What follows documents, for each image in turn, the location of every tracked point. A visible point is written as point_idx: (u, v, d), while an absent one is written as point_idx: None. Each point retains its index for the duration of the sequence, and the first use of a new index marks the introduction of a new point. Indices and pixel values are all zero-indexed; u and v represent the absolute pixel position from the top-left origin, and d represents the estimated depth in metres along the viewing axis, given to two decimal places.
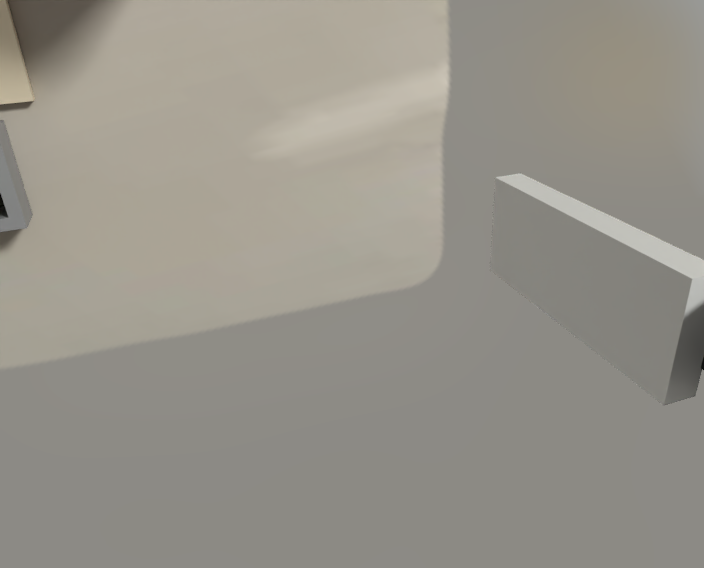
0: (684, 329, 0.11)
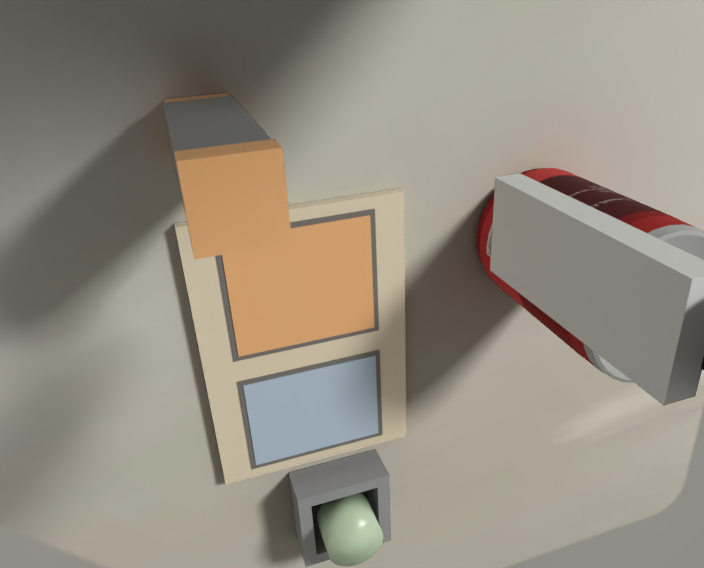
0: (684, 329, 0.11)
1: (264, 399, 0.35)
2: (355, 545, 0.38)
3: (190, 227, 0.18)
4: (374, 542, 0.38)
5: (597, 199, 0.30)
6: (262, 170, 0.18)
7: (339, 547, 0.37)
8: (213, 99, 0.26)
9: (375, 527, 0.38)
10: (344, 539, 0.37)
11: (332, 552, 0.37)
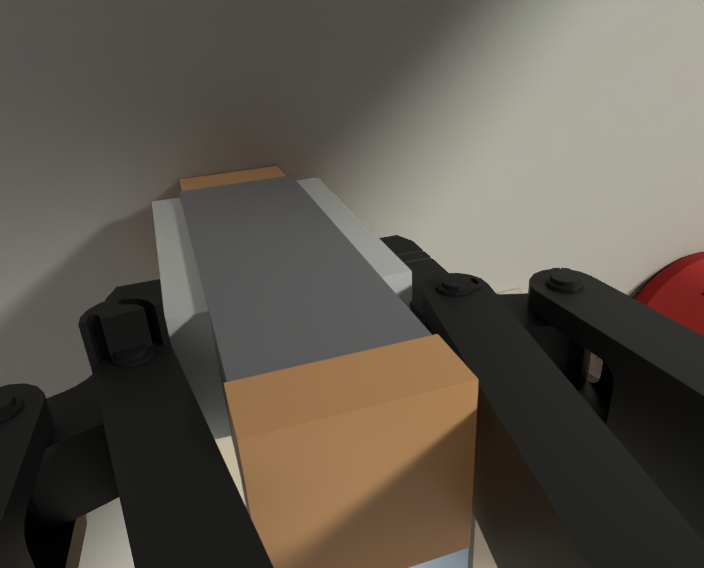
0: None
1: None
2: None
3: None
4: None
5: None
6: (430, 429, 0.08)
7: None
8: (263, 184, 0.16)
9: None
10: None
11: None
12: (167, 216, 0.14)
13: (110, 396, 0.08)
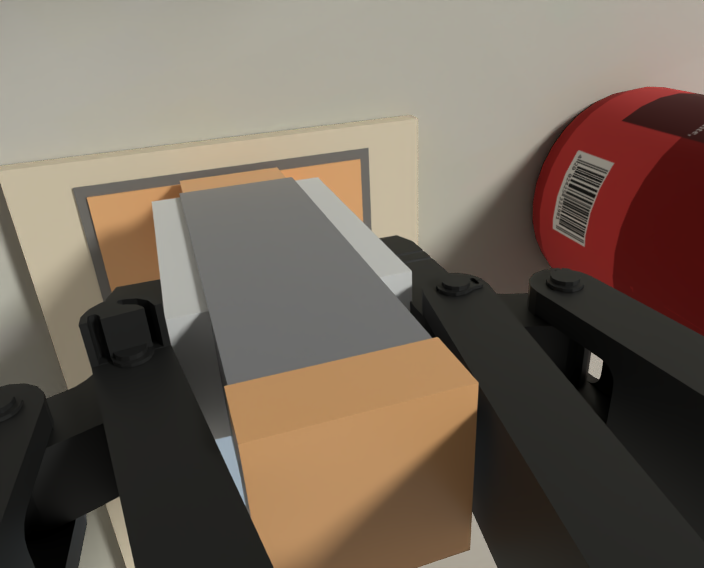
0: None
1: None
2: None
3: None
4: None
5: None
6: (430, 432, 0.08)
7: None
8: (263, 186, 0.16)
9: None
10: None
11: None
12: (167, 217, 0.14)
13: (110, 396, 0.08)
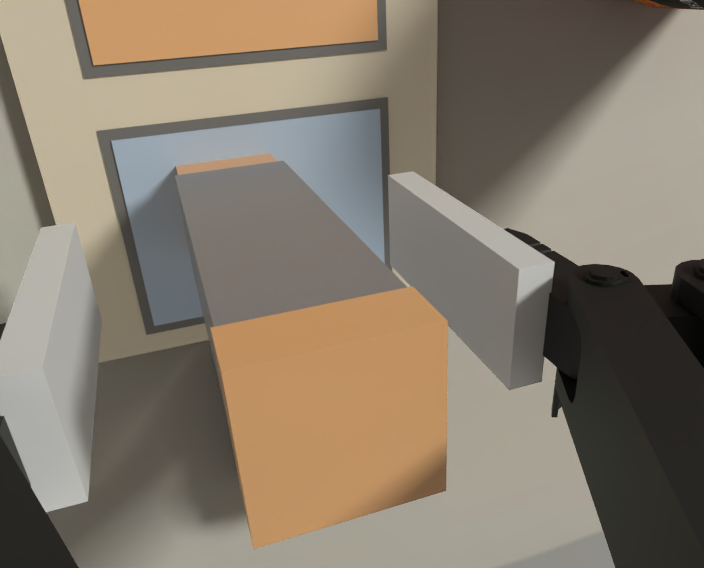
0: (519, 317, 0.12)
1: (160, 179, 0.18)
2: None
3: (247, 494, 0.08)
4: None
5: None
6: (403, 369, 0.08)
7: None
8: (255, 168, 0.16)
9: None
10: None
11: None
12: (49, 246, 0.13)
13: None
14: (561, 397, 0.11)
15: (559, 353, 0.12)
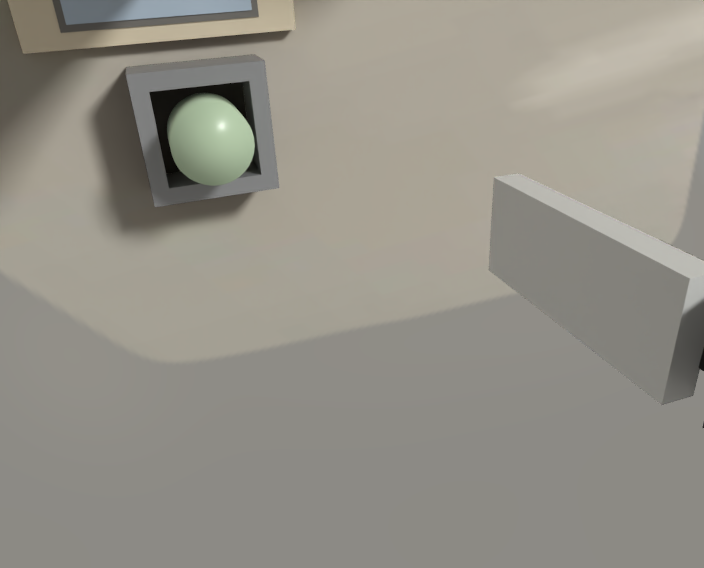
0: (681, 329, 0.11)
1: None
2: (213, 147, 0.26)
3: None
4: (242, 148, 0.27)
5: None
6: None
7: (187, 143, 0.26)
8: None
9: (240, 117, 0.26)
10: (193, 129, 0.26)
11: (177, 151, 0.26)
12: None
13: None
14: None
15: None
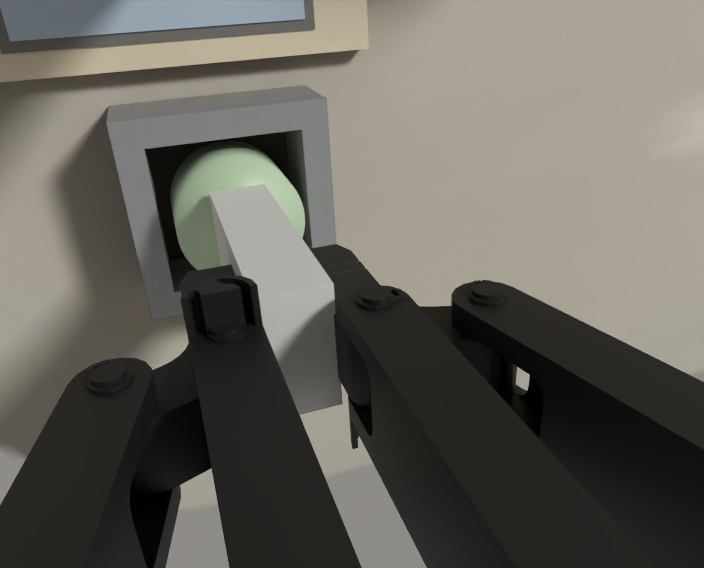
0: (303, 340, 0.11)
1: None
2: None
3: None
4: None
5: None
6: None
7: (203, 224, 0.17)
8: None
9: (285, 184, 0.17)
10: None
11: (187, 236, 0.17)
12: (228, 206, 0.15)
13: (205, 368, 0.09)
14: (358, 429, 0.11)
15: (348, 384, 0.11)
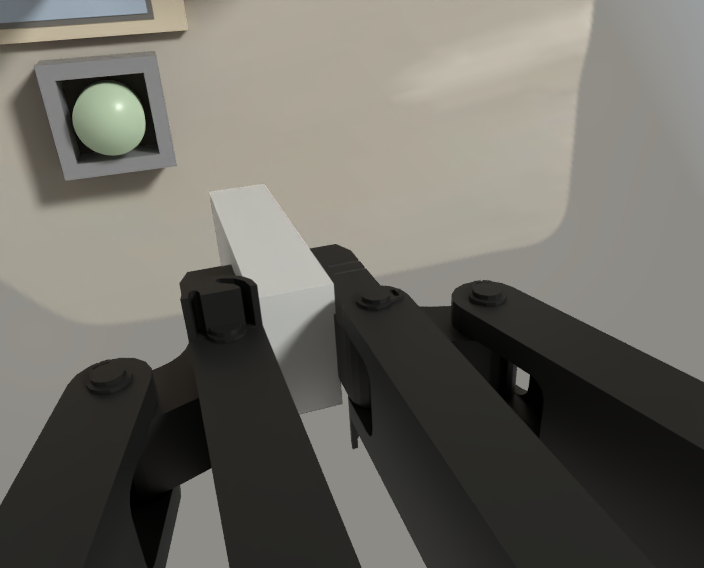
0: (303, 339, 0.11)
1: None
2: (109, 123, 0.32)
3: None
4: (135, 125, 0.33)
5: None
6: None
7: (87, 119, 0.32)
8: None
9: (131, 99, 0.32)
10: (91, 108, 0.32)
11: (79, 126, 0.32)
12: (228, 206, 0.15)
13: (205, 368, 0.09)
14: (358, 429, 0.11)
15: (348, 384, 0.11)
